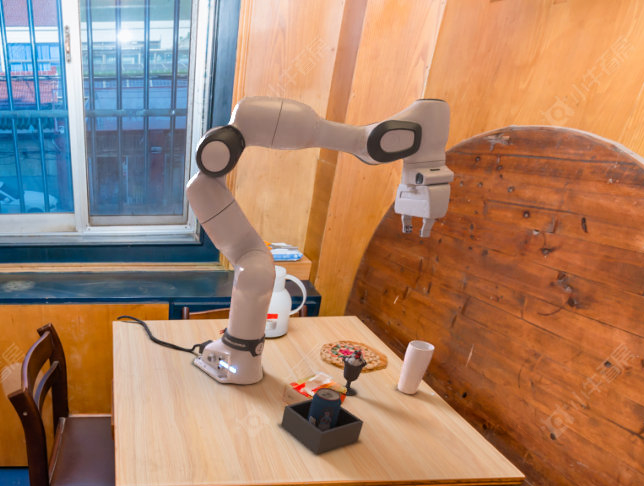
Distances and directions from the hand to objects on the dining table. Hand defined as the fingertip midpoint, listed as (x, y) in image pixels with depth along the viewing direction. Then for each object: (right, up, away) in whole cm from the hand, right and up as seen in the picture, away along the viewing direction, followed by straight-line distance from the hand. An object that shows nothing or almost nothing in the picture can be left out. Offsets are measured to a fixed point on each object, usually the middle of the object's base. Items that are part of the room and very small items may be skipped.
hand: (415, 234), depth 127 cm
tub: (-22, -50, +6) cm, 55 cm away
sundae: (-7, -39, +25) cm, 47 cm away
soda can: (-22, -50, +6) cm, 55 cm away
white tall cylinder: (+12, -39, +26) cm, 49 cm away
